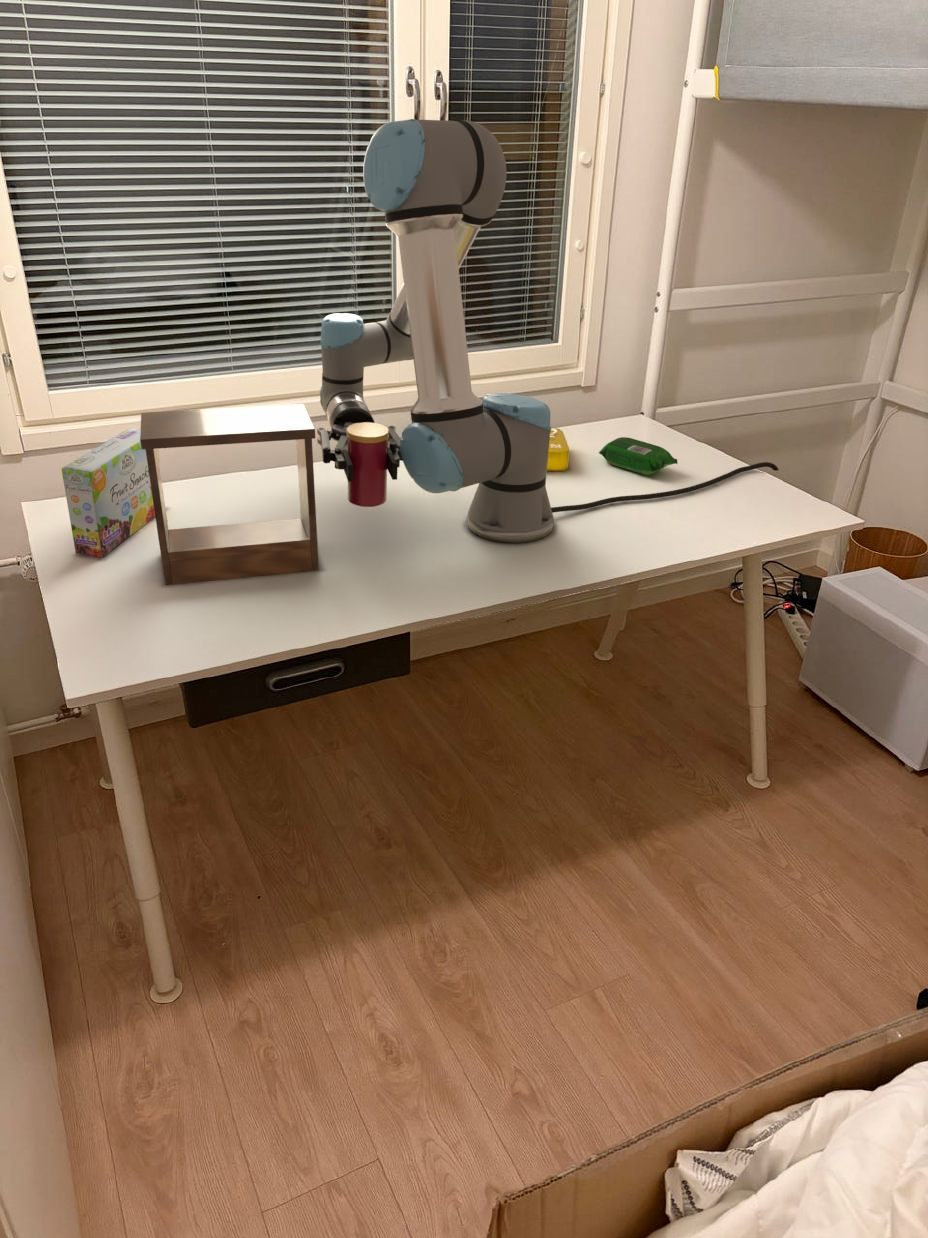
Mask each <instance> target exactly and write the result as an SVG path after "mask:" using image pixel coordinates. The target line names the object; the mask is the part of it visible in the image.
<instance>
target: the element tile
mask: <svg viewBox="0 0 928 1238" xmlns="http://www.w3.org/2000/svg"><path fill="white" fill-rule="evenodd" d="M569 461H570V447H569V444H568V441H567V439H566V436H565V434H564V432H563V431H562V430H561V429H560V428H557V427H556V428H555V427H553V428H552V427H551V430H550V440H549V451H548V462H547V472H563V471H566V470H567V469H568V468H569Z"/></svg>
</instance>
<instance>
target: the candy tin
mask: <svg viewBox="0 0 928 1238" xmlns="http://www.w3.org/2000/svg"><path fill="white" fill-rule="evenodd" d="M347 437H348V454H349V456H350V459H351V462H352V464H353V481H352V482H348V481H347V501H348V502H349V503H351V504H352V505H355V506H358V507H363V508H375V507H379V506H382V505H384V504H385V503H386V502H387V497H388V496H387V494H388V493H387V492H388V491H387V490H388V469H387V456H388V437H389V429H388V427H387V426H385V425H384V424H381V423H377V422H375V423H370V422H363V423H355V424H352V425H350V426H348V428H347Z"/></svg>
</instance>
